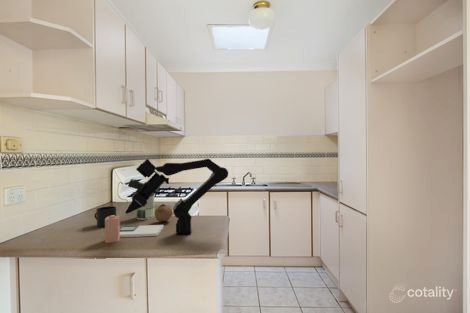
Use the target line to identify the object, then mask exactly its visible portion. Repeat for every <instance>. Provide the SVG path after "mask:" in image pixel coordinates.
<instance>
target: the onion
mask: <svg viewBox="0 0 470 313" xmlns="http://www.w3.org/2000/svg"><path fill="white" fill-rule="evenodd" d="M154 216H155V217H154V218H155V220H156V221H157V222H161V223H162V222H163V223H165V222H168V221H169V220H170V219H171V218H172V216H173V208H171V207H170V206H168V205H166V204H164V203H163V204H160V205H159V206H158V207H157V208H156V209H154Z"/></svg>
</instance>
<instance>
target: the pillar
mask: <svg viewBox="0 0 470 313" xmlns="http://www.w3.org/2000/svg"><path fill="white" fill-rule="evenodd" d="M120 227H121V225H120V215H116V216H115V215H111V216H109V217H107V218H106V219H105V227H104V236H105V237H104V240H105V243H106V244H110V243H117V242H119V241H120V239H121V237H120Z"/></svg>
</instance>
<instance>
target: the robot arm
mask: <svg viewBox="0 0 470 313" xmlns="http://www.w3.org/2000/svg"><path fill="white" fill-rule="evenodd" d="M203 168H206V169H208V170H209V171H210V172H211V174H210V175H209V177H208V179H206V180H205V181H204V182H203V183H202V184H201V185H200V186H199V187H197V189H196V190H194V191H193V192H192V193H191V194H190V195H189V196H187V197H186V198H185V199H182V198H180V199H179V200H177V202H176V203H174V206H173V208H172V213H173V215H174V217H175V218H177V220H176V223H175V233H176V236H180V235H181V236H182V235H185V236H186V235H191V234H192V232H193V229H192V215H191V214H190V210H191V209H192V207H193V206H194V205H195V204H196V203H197V202H198V201H199V200H200V199H202V197H203V196H205V194H206V193H207V192H209V191H210V190H211V189H212V188H213V187H214V186H215V185H217V184H219V183H221V182H222V181H224V180H226V179H227V178H228V177H229V170H228V169H227V168H225V167H221V166H220V165H219V164H217V163H216V162H214V161H212V159H210V158H204V159H199V160H192V161H186V162H165V163H164V164H162V165H160V166H155V165H154V164H153V163H152V162H151V161H150V159H148V158H147V159H145V161H143V162H142V163H141V164H140V165H138V166H137V167H136V169H135V170H136V171H137V172H138V173H139V174H140V175H142V176H143V177H144V178H149V179H148V180H147V181H145V182H144V183H143V182H140V181H139V180H137V179H133V178H131V179H130V180H129V183H128V185H127V188H131V189H132V188H133V189H135V192H134V194H133V195H132V197H131V202H130V204H129V205H128V207H127V209H126V211H124V212H125V214H126V215H127V214H130V213H132V212H134V211H136V210H137V209H139V208H141V207H143V206H145V205H146V204H147V200H148V199H149V197H150V196H151V195H152V194H153V193H154V194H155V193H156V192H157V191H158V190H159V188H160V187H161V186H162V185H163V184H164V183H165V184H167V185H169V184H170V177H171V176H173V175H176V174H178V173H181V172H183V171H184V172H186V171H190V170H195V169H203ZM159 173H161V174H159ZM162 173H163V174H162Z"/></svg>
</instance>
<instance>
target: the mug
mask: <svg viewBox="0 0 470 313" xmlns="http://www.w3.org/2000/svg"><path fill="white" fill-rule="evenodd" d="M111 215H115V216H117V207H116V206H115V205H114V206H111V205H110V206H102V207H98V208H96V212H95V213H94V219H95V220H96V226H97V227H98V228H105V219H106V218H107V217H109V216H111Z"/></svg>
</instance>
